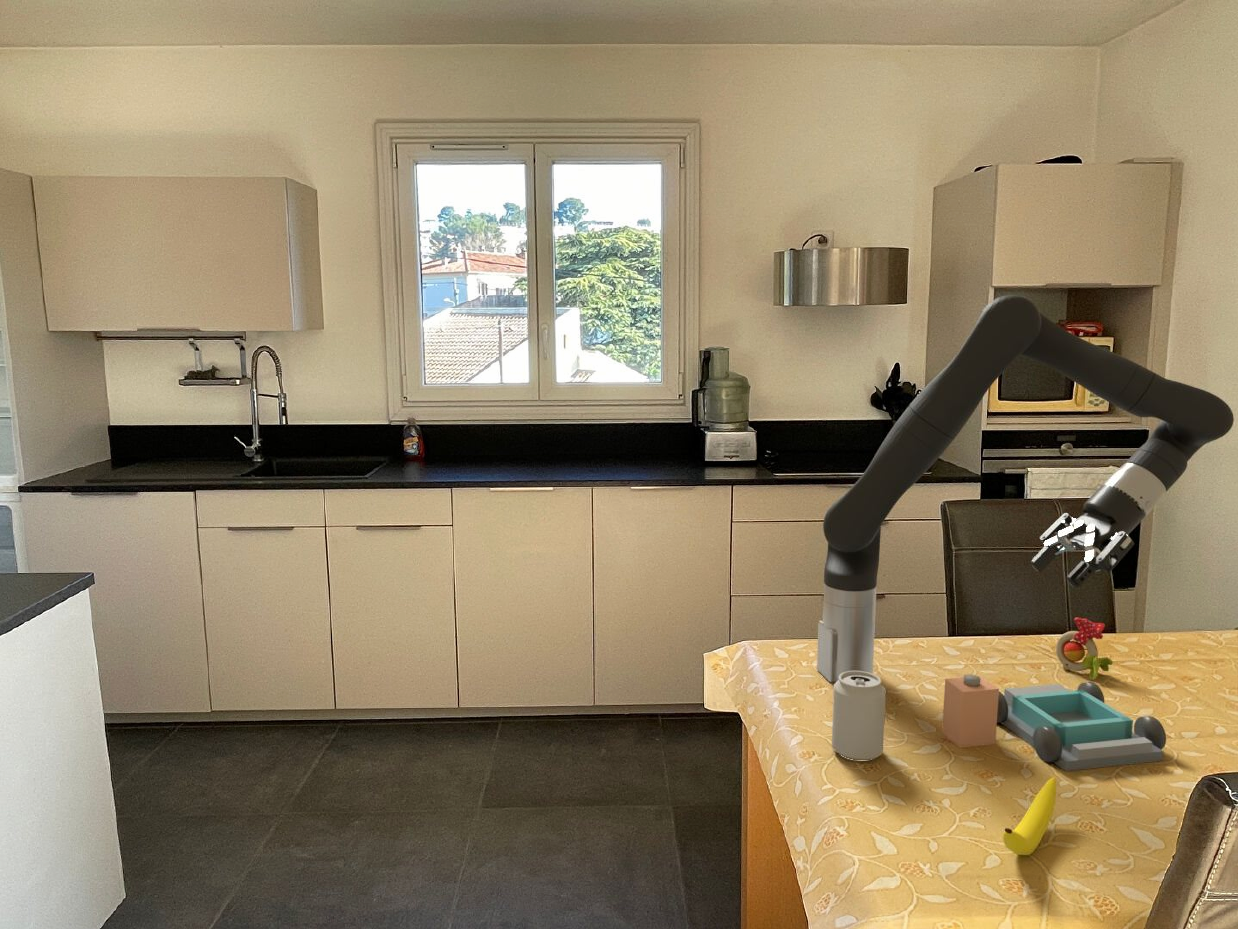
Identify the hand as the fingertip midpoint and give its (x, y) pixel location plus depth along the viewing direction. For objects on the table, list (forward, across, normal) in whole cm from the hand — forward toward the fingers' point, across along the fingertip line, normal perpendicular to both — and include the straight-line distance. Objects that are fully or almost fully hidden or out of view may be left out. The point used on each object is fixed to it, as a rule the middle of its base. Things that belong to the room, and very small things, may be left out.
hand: (1052, 576), depth 138 cm
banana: (+33, +27, +4) cm, 43 cm away
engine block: (+27, 0, +9) cm, 28 cm away
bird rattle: (+3, -19, +33) cm, 39 cm away
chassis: (+16, +2, +20) cm, 26 cm away
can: (+40, +1, -4) cm, 41 cm away
